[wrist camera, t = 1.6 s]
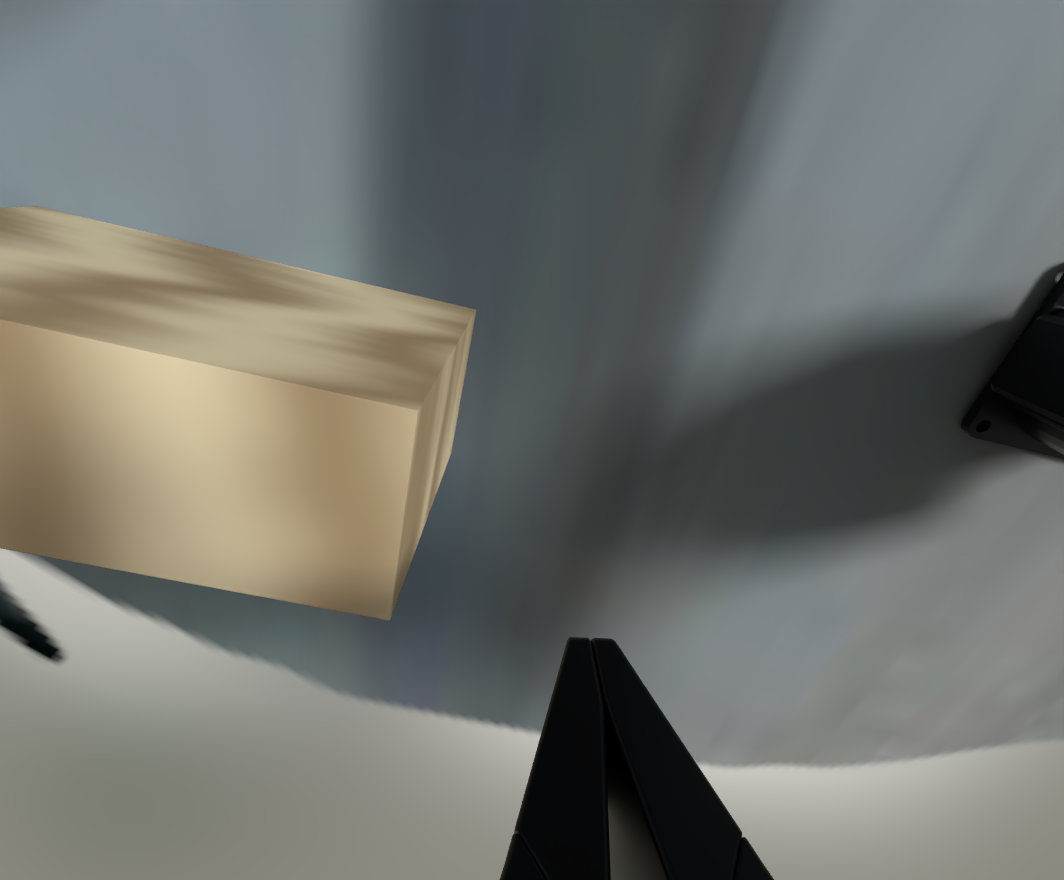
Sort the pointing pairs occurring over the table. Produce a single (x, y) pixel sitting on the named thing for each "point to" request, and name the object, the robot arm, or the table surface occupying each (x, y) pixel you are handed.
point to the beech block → (218, 413)
